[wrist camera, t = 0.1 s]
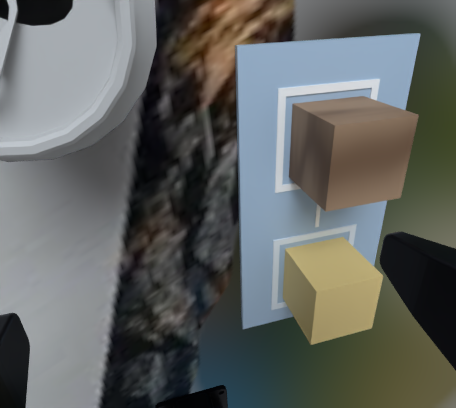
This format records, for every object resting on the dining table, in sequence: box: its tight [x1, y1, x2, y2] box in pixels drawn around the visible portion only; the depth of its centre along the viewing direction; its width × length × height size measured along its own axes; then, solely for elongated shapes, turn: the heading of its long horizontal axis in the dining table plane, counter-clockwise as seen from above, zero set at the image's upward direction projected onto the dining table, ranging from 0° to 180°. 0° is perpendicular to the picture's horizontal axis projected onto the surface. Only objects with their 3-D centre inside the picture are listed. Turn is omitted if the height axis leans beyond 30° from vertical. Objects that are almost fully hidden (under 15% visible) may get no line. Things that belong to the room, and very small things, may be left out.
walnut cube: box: [289, 96, 419, 212], centre depth 22 cm, size 5×5×5 cm
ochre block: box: [283, 237, 383, 345], centre depth 27 cm, size 5×5×5 cm
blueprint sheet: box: [235, 33, 420, 329], centre depth 27 cm, size 22×12×1 cm, turn 2°
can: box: [0, 0, 157, 162], centre depth 12 cm, size 8×8×12 cm
